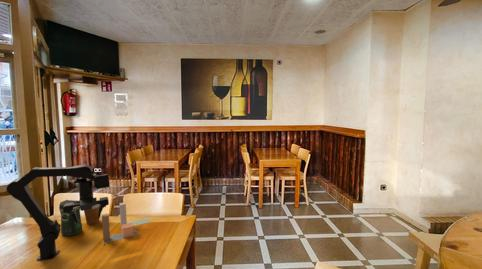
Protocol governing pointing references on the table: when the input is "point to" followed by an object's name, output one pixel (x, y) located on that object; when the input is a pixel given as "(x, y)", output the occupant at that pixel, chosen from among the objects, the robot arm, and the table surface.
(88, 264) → the table surface
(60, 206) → the coffee jar
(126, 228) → the terracotta cube
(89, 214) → the disposable coffee cup
